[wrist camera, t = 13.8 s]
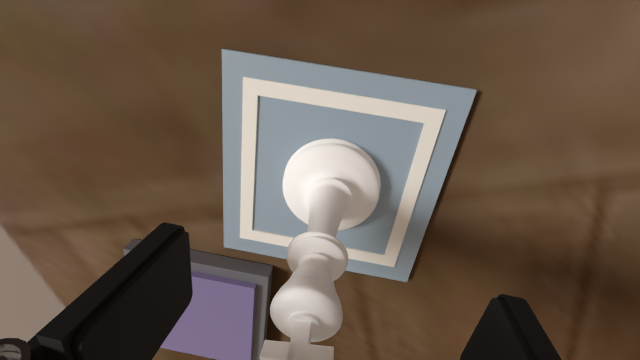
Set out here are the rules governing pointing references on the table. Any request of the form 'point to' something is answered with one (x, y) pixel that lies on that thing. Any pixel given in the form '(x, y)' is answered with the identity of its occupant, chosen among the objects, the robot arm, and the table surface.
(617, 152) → the table surface
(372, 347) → the table surface
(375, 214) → the pale blue flat square
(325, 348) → the chess piece
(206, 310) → the ink pad
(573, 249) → the table surface
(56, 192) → the table surface
